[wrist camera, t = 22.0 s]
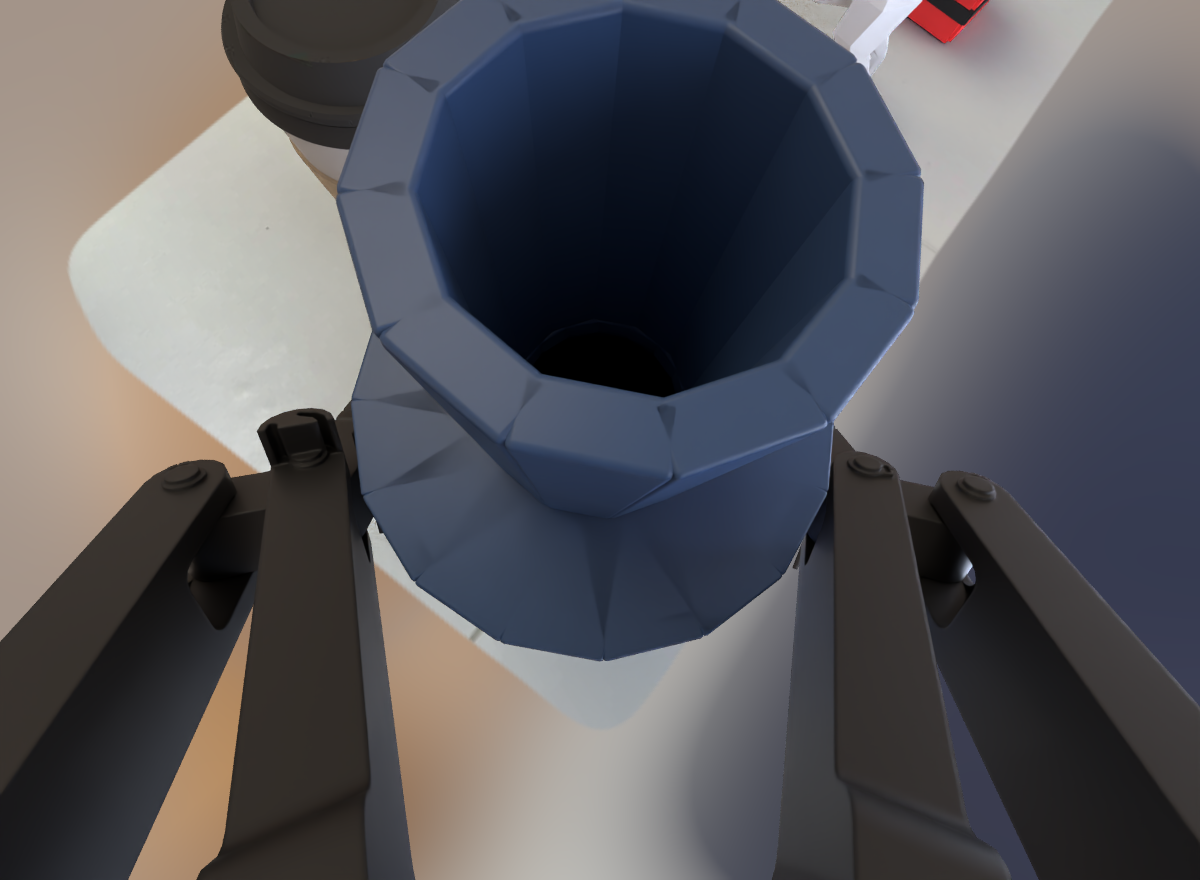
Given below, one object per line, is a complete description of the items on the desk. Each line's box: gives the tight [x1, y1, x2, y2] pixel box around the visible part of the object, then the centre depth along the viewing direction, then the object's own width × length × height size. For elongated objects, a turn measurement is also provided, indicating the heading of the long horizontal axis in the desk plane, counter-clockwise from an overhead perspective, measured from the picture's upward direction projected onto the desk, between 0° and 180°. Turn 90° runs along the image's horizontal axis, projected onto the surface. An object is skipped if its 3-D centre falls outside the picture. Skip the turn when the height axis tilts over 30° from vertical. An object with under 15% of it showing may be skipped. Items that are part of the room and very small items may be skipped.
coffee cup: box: [221, 0, 460, 200], centre depth 23 cm, size 9×9×15 cm
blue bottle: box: [336, 0, 924, 661], centre depth 13 cm, size 8×8×21 cm
